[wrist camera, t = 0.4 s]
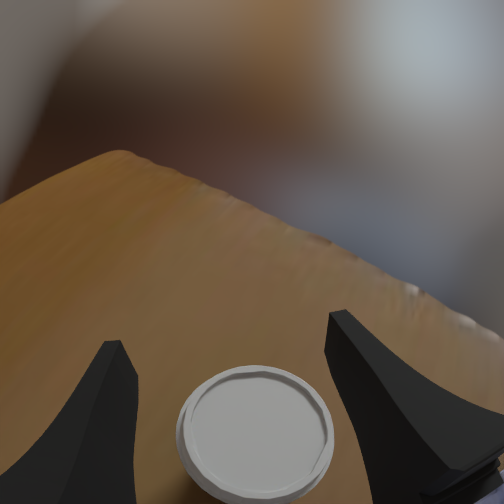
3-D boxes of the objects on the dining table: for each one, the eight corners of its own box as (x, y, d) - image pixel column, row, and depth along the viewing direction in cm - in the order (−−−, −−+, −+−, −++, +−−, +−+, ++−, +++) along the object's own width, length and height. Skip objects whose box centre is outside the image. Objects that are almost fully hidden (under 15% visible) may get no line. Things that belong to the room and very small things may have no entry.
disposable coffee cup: (217, 532, 18) (229, 536, 11) (166, 444, 24) (148, 391, 17) (311, 482, 23) (371, 448, 15) (256, 406, 29) (283, 338, 21)
